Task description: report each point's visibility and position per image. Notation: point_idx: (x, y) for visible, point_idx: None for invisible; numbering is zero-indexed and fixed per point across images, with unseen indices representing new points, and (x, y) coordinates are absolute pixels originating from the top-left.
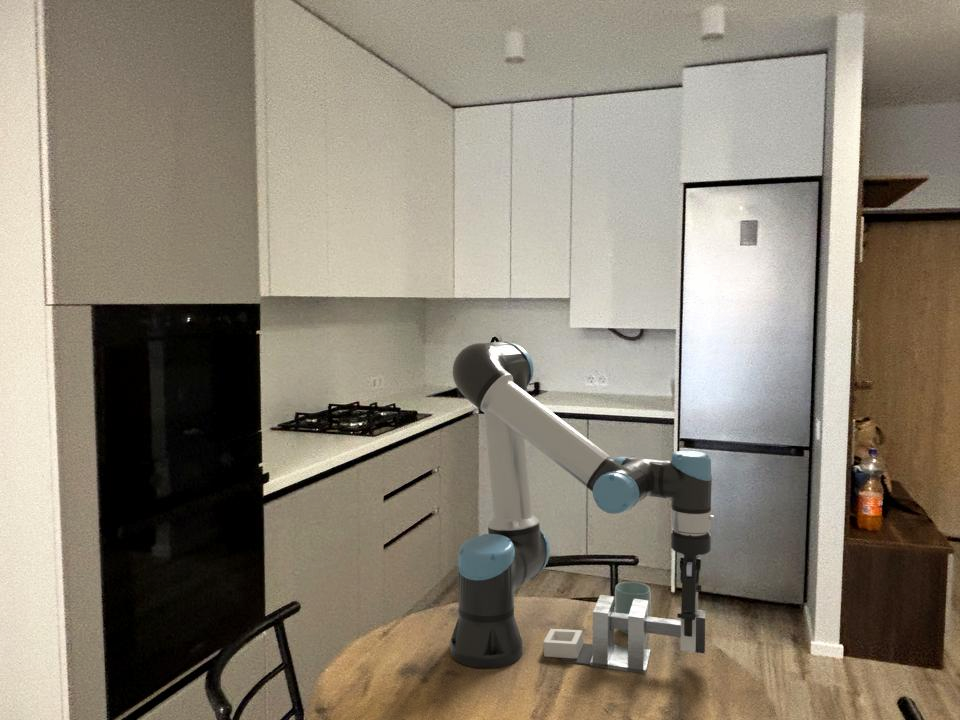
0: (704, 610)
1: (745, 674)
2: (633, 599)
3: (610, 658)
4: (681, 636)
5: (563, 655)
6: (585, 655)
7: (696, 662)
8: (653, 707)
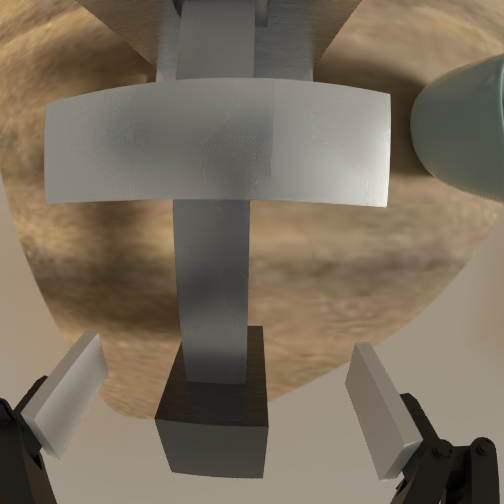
0: (260, 476)
1: None
2: (481, 122)
3: None
4: (62, 363)
5: None
6: None
7: (280, 321)
8: (25, 226)
